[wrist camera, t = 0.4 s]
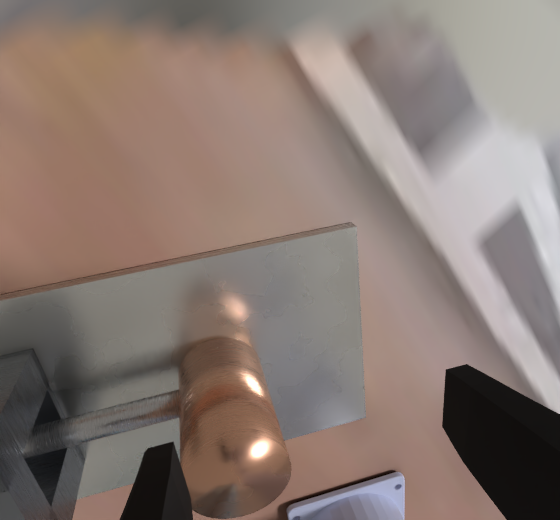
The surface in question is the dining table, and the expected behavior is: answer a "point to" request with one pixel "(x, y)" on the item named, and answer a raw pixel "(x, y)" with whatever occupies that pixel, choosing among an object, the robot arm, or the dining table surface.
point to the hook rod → (201, 429)
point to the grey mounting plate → (173, 354)
